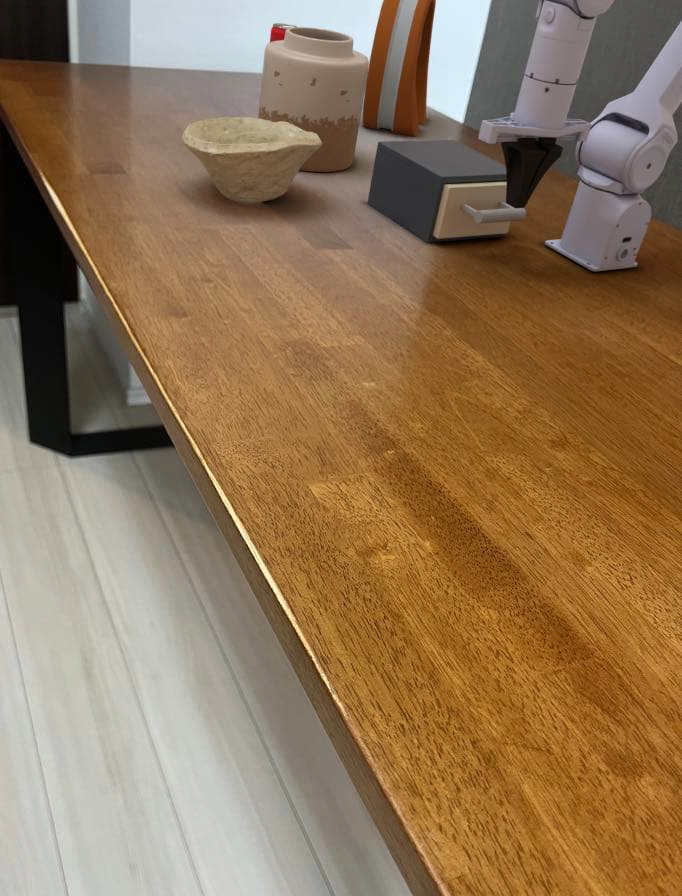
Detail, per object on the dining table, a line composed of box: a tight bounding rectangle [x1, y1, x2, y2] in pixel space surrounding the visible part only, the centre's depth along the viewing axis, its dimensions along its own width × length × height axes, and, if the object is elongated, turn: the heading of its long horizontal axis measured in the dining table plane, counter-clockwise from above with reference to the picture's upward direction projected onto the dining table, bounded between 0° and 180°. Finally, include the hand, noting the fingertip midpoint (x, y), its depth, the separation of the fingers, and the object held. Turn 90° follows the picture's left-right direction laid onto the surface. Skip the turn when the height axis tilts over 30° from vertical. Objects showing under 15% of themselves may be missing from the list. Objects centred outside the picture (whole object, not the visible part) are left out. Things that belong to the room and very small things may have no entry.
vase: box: [257, 26, 370, 173], centre depth 127 cm, size 15×15×17 cm
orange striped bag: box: [362, 0, 437, 137], centre depth 149 cm, size 22×10×23 cm, turn 165°
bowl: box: [181, 116, 322, 205], centre depth 112 cm, size 14×18×15 cm
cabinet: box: [367, 139, 507, 244], centre depth 114 cm, size 15×13×8 cm
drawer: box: [433, 180, 527, 239], centre depth 111 cm, size 18×11×6 cm, turn 27°
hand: (515, 205), depth 101 cm, fingers closed
